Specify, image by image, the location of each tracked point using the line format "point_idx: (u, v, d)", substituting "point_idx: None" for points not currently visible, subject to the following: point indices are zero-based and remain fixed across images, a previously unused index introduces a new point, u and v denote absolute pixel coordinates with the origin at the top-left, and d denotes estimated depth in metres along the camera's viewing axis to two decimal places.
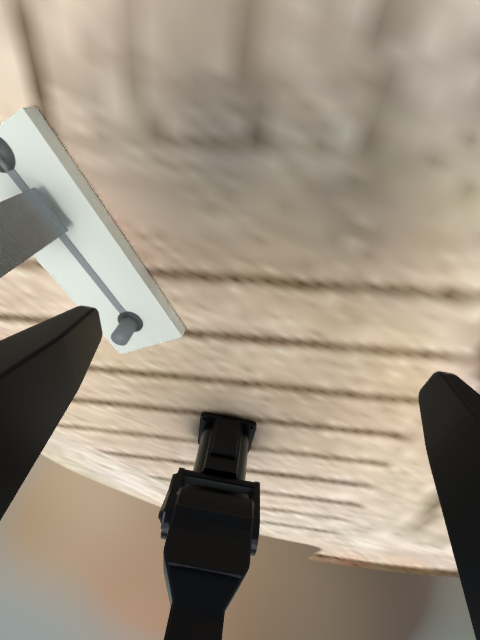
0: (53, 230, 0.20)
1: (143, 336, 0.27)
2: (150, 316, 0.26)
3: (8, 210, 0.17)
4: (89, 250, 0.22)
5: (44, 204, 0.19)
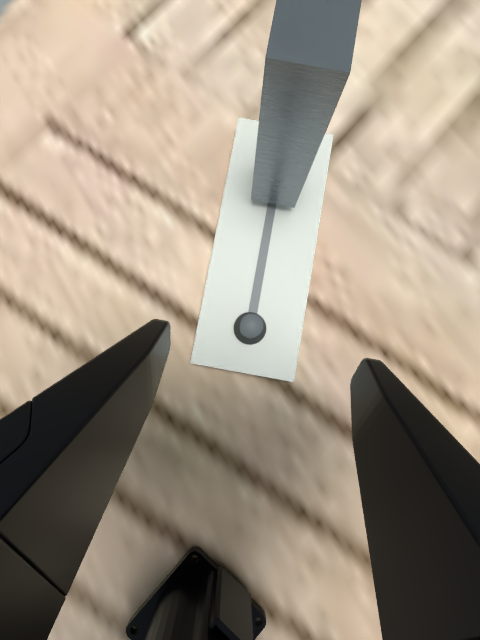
0: None
1: (246, 354, 0.20)
2: (279, 335, 0.21)
3: None
4: (282, 238, 0.21)
5: None
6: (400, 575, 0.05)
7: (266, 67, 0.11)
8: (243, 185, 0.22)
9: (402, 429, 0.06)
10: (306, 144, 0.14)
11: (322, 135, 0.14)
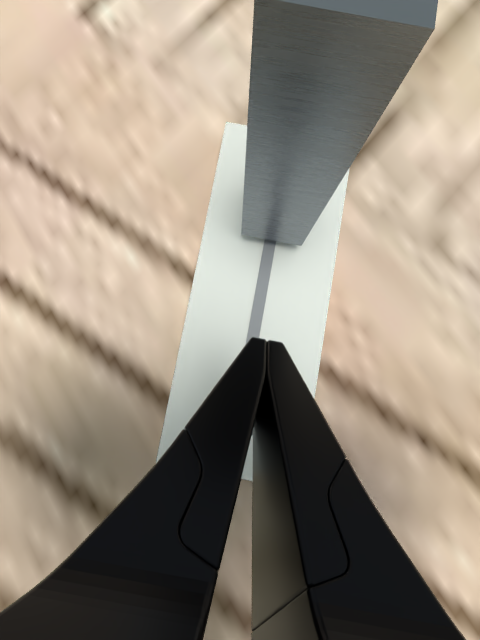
0: None
1: None
2: None
3: None
4: (284, 286, 0.16)
5: None
6: (261, 549, 0.05)
7: (257, 21, 0.05)
8: (232, 213, 0.16)
9: (271, 405, 0.06)
10: (326, 166, 0.09)
11: (355, 153, 0.08)
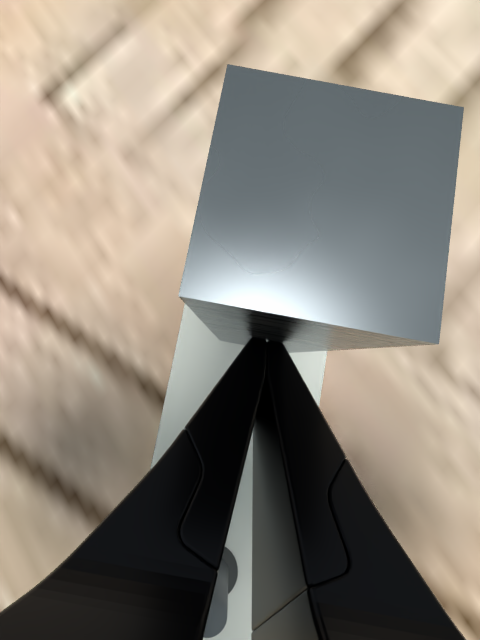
0: None
1: None
2: None
3: None
4: None
5: None
6: (261, 549, 0.05)
7: (189, 302, 0.04)
8: (206, 334, 0.14)
9: (271, 405, 0.06)
10: (305, 345, 0.07)
11: (338, 349, 0.07)
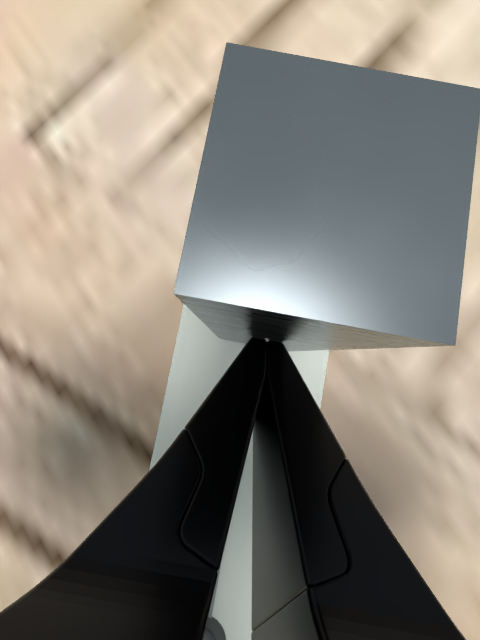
0: None
1: None
2: None
3: None
4: None
5: None
6: (261, 549, 0.05)
7: (185, 300, 0.04)
8: (194, 392, 0.14)
9: (271, 405, 0.06)
10: (308, 344, 0.07)
11: (342, 348, 0.06)
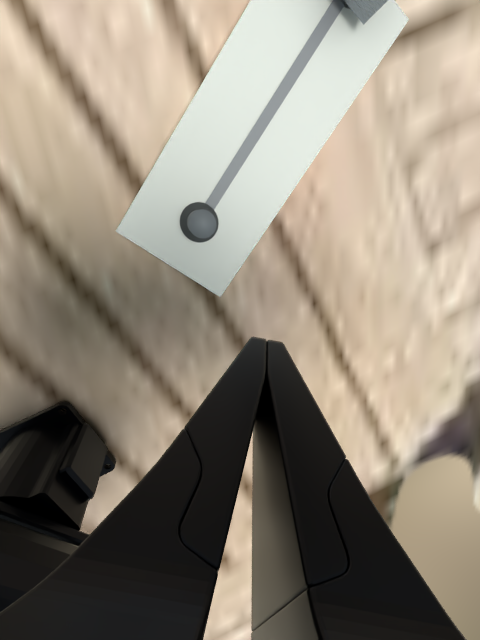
0: None
1: (183, 249, 0.18)
2: (226, 244, 0.18)
3: None
4: (282, 132, 0.17)
5: None
6: (261, 549, 0.05)
7: None
8: (270, 22, 0.15)
9: (271, 405, 0.06)
10: None
11: None
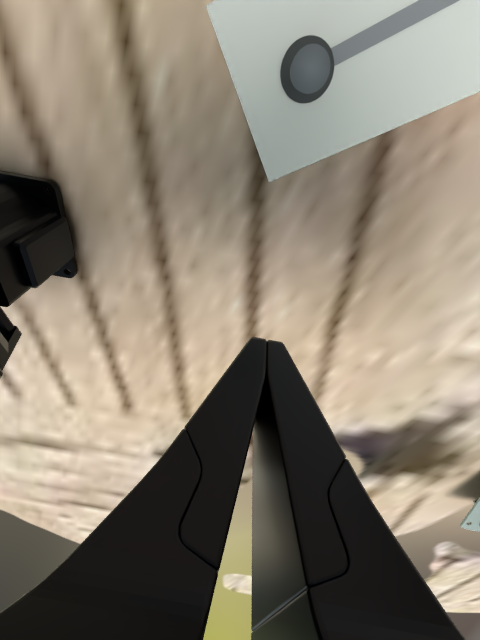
0: None
1: (267, 94, 0.13)
2: (317, 125, 0.14)
3: None
4: None
5: None
6: (261, 549, 0.05)
7: None
8: None
9: (271, 405, 0.06)
10: None
11: None
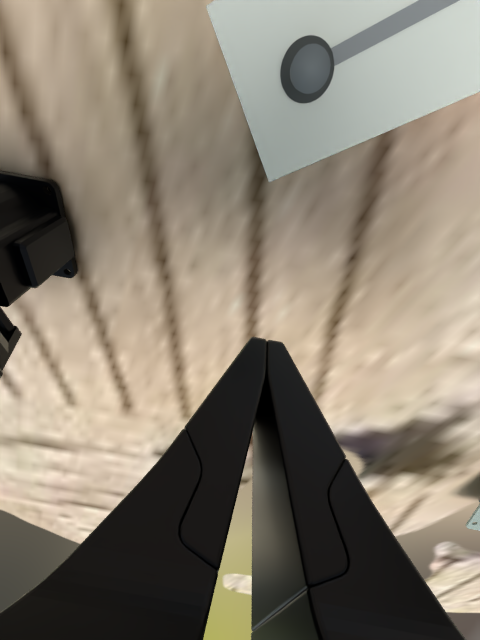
0: None
1: (267, 94, 0.13)
2: (317, 125, 0.14)
3: None
4: None
5: None
6: (261, 549, 0.05)
7: None
8: None
9: (271, 405, 0.06)
10: None
11: None
